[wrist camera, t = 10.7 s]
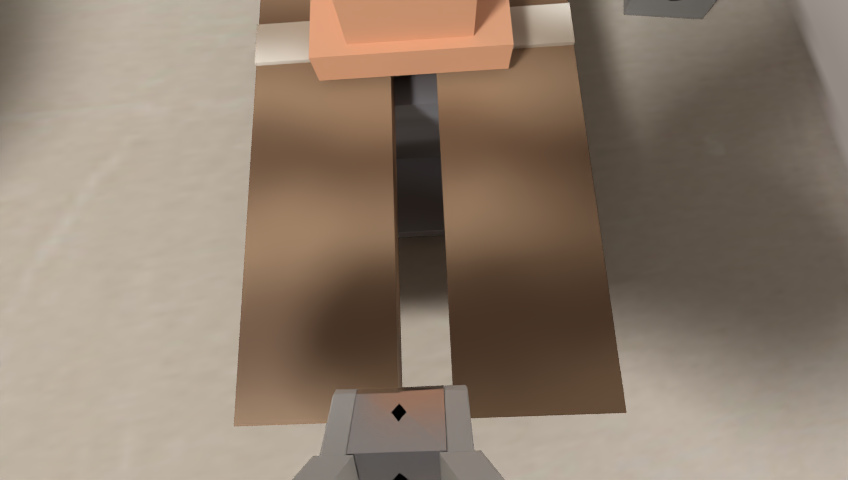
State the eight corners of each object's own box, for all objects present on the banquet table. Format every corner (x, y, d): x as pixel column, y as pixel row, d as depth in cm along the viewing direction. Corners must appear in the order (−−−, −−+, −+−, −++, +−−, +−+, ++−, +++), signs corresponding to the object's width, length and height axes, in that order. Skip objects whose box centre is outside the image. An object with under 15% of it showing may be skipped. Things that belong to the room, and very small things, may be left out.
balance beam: (582, 390, 24) (658, 412, 15) (288, 401, 24) (203, 428, 16) (525, -81, 32) (554, -238, 23) (304, -64, 32) (253, -211, 24)
